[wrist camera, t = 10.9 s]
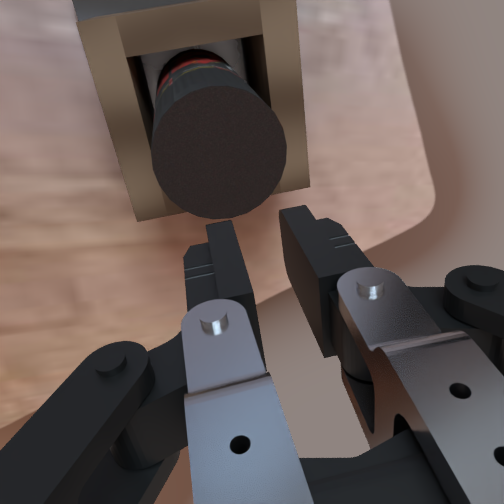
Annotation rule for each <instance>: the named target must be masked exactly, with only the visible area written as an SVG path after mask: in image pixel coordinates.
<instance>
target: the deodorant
mask: <svg viewBox="0 0 504 504" xmlns="http://www.w3.org/2000/svg"><path fill="white" fill-rule="evenodd" d="M286 155H287V143H286V139H285V134H284V130H283V127H282V125H281V123H280V121H279V119H278V118H277V116H276V114H275V112H274V111H273V110H272V109H271V108H270V107H269V106H268V105H267V104H266V103H265V102H264V101H263V100H262V99H261V98H260V97H259V96H258V95H257V93H256V92H255V91H254V90H253V89H252V88H251V87H250V86H249V85H248V84H247V83H246V82H245V81H244V80H243V79H242V78H241V77H240V76H239V75H238V74H237V73H236V72H235V70H234V69H233V68H232V67H231V66H230V65H229V64H228V63H227V62H226V61H225V60H224V59H223V58H222V57H220V56H219V55H217V54H215V53H214V52H211V51H208V50H204V49H189V50H186V51H182V52H180V53H178V54H177V55H175V56H174V57H172V58H170V60H169V61H168V62H167V63H166V64H165V66H164V67H163V68H162V71H161V73H160V75H159V77H158V83H157V89H156V100H155V111H154V122H153V133H152V144H151V158H152V167H153V171H154V174H155V176H156V179H157V181H158V184H159V186H160V187H161V189H162V190H163V191H164V192H165V194H166V195H167V196H168V198H169V199H170V200H171V201H172V202H174V203H175V204H176V205H177V206H179V207H180V208H181V209H183V210H185V211H187V212H189V213H191V214H194V215H196V216H199V217H204V218H210V219H225V218H233V217H236V216H239V215H242V214H245V213H247V212H249V211H251V210H252V209H254V208H256V207H257V206H259V205H261V204H262V203H263V202H264V201H265V200H266V199H267V198H268V197H269V196H270V195H271V194H272V193H273V191H274V189H275V188H276V186H277V185H278V183H279V181H280V180H281V178H282V174H283V171H284V168H285V165H286Z"/></svg>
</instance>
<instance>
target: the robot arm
mask: <svg viewBox="0 0 504 504" xmlns="http://www.w3.org/2000/svg"><path fill="white" fill-rule="evenodd" d="M279 222H280V230H281V238H282V247H283V255H284V262H285V267H286V271H287V275H288V278H289V280H290V282H291V285H292V287H293V289H294V291H295V293H296V296H297V298H298V300H299V303H300V305H301V307H302V309H303V312H304V314H305V316H306V318H307V320H308V322H309V325H310V327H311V329H312V332H313V334H314V336H315V338H316V340H317V343H318V345H319V347H320V350H321V352H322V354H323V356H324V358H326V357H331V356H336V355H337V356H338V358H339V360H340V362H341V376H342V381H343V384H344V386H345V388H346V391H347V393H348V396H349V398H350V401H351V403H352V405H353V408H354V410H355V412H356V414H357V417H358V420H359V422H360V425H361V427H362V429H363V432H364V434H365V437H366V439H367V441H368V444H369V446H370V450H369V451H367V452H365V453H363V454H362V455H359V456H357V457H353V458H299V457H298V454H297V451H296V449H295V446H294V443H293V440H292V437H291V434H290V431H289V428H288V425H287V422H286V419H285V416H284V413H283V410H282V407H281V404H280V401H279V398H278V395H277V392H276V389H275V386H274V383H273V380H272V377H271V375H270V373H269V372H267V373H266V371H267V370H266V364H265V358H264V352H263V346H262V340H261V334H260V328H259V322H258V317H257V311H256V304H255V299H254V293H253V289H252V286H251V283H250V279H249V276H248V273H247V270H246V266H245V263H244V260H243V256H242V253H241V250H240V247H239V243H238V240H237V237H236V234H235V230H234V227H233V224H232V221H231V220H228V221H223V222H218V223H213V224H208V225H206V230H207V235H208V241H209V242H208V243H203V244H198V245H193V246H190V247H189V249H188V251H187V252H186V254H185V256H184V257H183V259H184V270H185V271H184V272H185V286H186V299H187V312H188V313H187V314H186V315H185V316H184V318H183V320H182V323H181V331H180V332H179V334H178V335H176V336H175V337H174V338H173V339H171V340H170V341H168V342H166V343H164V344H163V345H160V346H158V347H156V348H154V349H152V350H150V351H148V352H147V351H146V349H145V348H144V347H143V346H142V345H140V344H138V343H136V342H131V341H121V342H115V343H111V344H108V345H106V346H103V347H101V348H99V349H97V350H96V351H94V352H93V353H91V354H90V355H89V356H88V357H87V358H86V359H85V360H84V361H83V362H82V363H81V364H80V365H79V366H78V367H77V368H76V369H75V370H74V371H73V373H72V374H71V375H70V376H69V377H68V378H67V379H66V380H65V381H64V382H63V383H62V384H61V385H60V387H59V388H58V389H57V390H56V391H55V392H54V393H53V394H52V395H51V396H50V397H49V398H48V400H47V401H46V402H45V403H44V404H43V405H42V406H41V407H40V408H39V409H38V410H37V412H36V413H35V414H34V415H33V416H32V417H31V418H30V419H29V420H28V421H27V422H26V423H25V424H24V426H23V427H22V428H21V429H20V430H19V431H18V432H17V433H16V434H15V435H14V437H12V438H11V440H10V441H9V442H8V443H7V444H6V445H5V446H4V447H3V448H2V449H1V450H0V504H154V502H155V500H156V498H157V497H158V495H159V493H160V491H161V489H162V488H163V486H164V484H165V482H166V481H167V479H168V477H169V475H170V473H171V472H172V470H173V468H174V466H175V464H176V463H177V460H178V458H179V454H180V450H181V449H183V448H184V447H186V446H188V448H189V458H190V468H191V478H192V489H193V499H194V504H504V271H503V270H500V269H496V268H493V267H488V266H480V265H470V266H463V267H459V268H456V269H454V270H452V271H451V272H449V273H448V274H447V276H446V278H445V285H444V287H410V286H406V285H405V283H404V282H403V281H402V279H401V278H400V277H399V276H398V275H396V274H395V273H393V272H391V271H389V270H386V269H382V268H376V267H374V266H373V265H372V264H371V262H370V261H369V260H368V258H367V257H366V256H365V255H364V253H363V252H362V251H361V250H360V248H359V247H358V246H357V244H355V243H354V241H353V239H352V238H351V237H350V236H349V235H348V233H347V232H346V230H345V229H344V228H343V227H342V225H341V224H339V223H337V222H335V221H333V220H331V219H329V218H324V219H319V220H316V219H315V218H314V216H313V215H312V213H311V212H310V210H309V209H308V207H307V206H306V205H302V206H297V207H292V208H287V209H282V210H279Z"/></svg>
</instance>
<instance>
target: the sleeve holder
mask: <svg viewBox="0 0 504 504" xmlns="http://www.w3.org/2000/svg"><path fill="white" fill-rule="evenodd" d="M72 1H73V4H74V8H75V11H76V14H77V18H78V21H79V22H76V24H77V27H78V31H79V34H80V37H81V40H82V44H83V47H84V50H85V53H86V57H87V60H88V63H89V66H90V70H91V73H92V76H93V79H94V83H95V86H96V89H97V92H98V96H99V99H100V102H101V105H102V109H103V112H104V115H105V118H106V122H107V125H108V128H109V132H110V135H111V138H112V141H113V145H114V148H115V151H116V154H117V158H118V161H119V164H120V167H121V171H122V174H123V177H124V180H125V184H126V187H127V190H128V193H129V197H130V200H131V203H132V206H133V210H134V213H135V216H136V219H137V222H139V221H144V220H149V219H154V218H159V217H164V216H169V215H174V214H179V213H184V212H187V211H185V210H183V209H181V208H180V207H179V206H177V205H176V204H175V203H174V202H172V201H171V200H170V199H169V198H168V196H167V195H166V194H165V192H164V191H163V190H162V189H161V187H160V186H159V184H158V181H157V179H156V176H155V174H154V171H153V167H152V158H151V144H152V133H153V122H154V108H153V104H152V100H151V96H150V92H149V88H148V83H147V79H146V75H145V71H144V67H143V63H142V59H141V55H144V54H150V53H155V52H161V51H167V50H173V49H179V48H185V47H190V46H196V45H202V44H208V43H214V42H219V41H225V40H231V39H237V38H241V44H242V51H243V58H244V66H245V73H246V80H247V84H248V85H249V86H250V87H251V88H252V89H253V90H254V91H255V92H256V93H257V95H258V96H259V97H260V98H261V99H262V100H263V101H264V102H265V103H266V104H267V105H268V106H269V107H270V108H271V109H272V110H273V111H274V112H275V114H276V116H277V118H278V119H279V121H280V123H281V125H282V127H283V130H284V134H285V139H286V143H287V155H286V165H285V168H284V171H283V174H282V178H281V180H280V181H279V183H278V185H277V186H276V188H275V189H274V191H273V193H272V194H271V195H274V194H279V193H283V192H288V191H293V190H298V189H303V188H308V187H310V178H309V165H308V152H307V138H306V125H305V112H304V99H303V86H302V72H301V59H300V46H299V33H298V20H297V6H296V0H72Z"/></svg>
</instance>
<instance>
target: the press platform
mask: <svg viewBox="0 0 504 504" xmlns="http://www.w3.org/2000/svg"><path fill="white" fill-rule="evenodd" d="M189 49H204V50H208V51H211V52H214V53H215V54H217V55H219V56H220V57H222V58H223V59H224V60H225V61H226V62H227V63H228V64H229V65H230V66H231V67H232V68H233V69H234V70H235V72H236V73H237V74H238V75H239V76H240V77H241V78H242V79H243V80H244V81H245V82H246V83H247V80H246V73H245V66H244V58H243V51H242V44H241V38H237V39H231V40H225V41H219V42H214V43H208V44H202V45H196V46H190V47H185V48H179V49H173V50H167V51H161V52H155V53H150V54H144V55H141V59H142V63H143V67H144V71H145V75H146V79H147V83H148V88H149V92H150V96H151V100H152V104H153V108H154V111H155V100H156V89H157V83H158V77H159V75H160V73H161V71H162V68H163V67H164V66H165V64H166V63H167V62H168V61H169V60H170V58H172V57H174V56H175V55H177V54H178V53H180V52H182V51H186V50H189Z"/></svg>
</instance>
